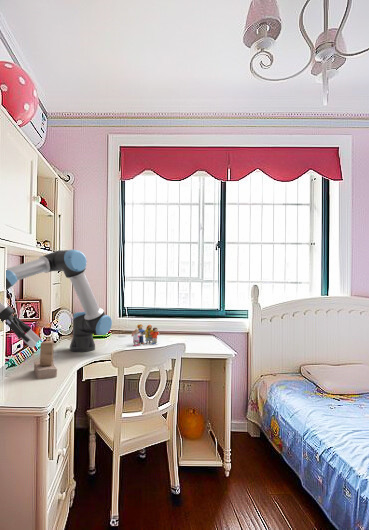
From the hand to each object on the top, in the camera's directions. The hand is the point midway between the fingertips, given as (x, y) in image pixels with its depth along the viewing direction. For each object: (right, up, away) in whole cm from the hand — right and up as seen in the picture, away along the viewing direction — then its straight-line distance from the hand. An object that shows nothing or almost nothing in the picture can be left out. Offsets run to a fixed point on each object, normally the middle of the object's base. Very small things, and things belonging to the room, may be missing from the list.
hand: (36, 343), depth 172 cm
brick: (+4, -15, 0) cm, 15 cm away
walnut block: (+4, -10, +1) cm, 11 cm away
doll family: (+41, -17, +77) cm, 89 cm away
